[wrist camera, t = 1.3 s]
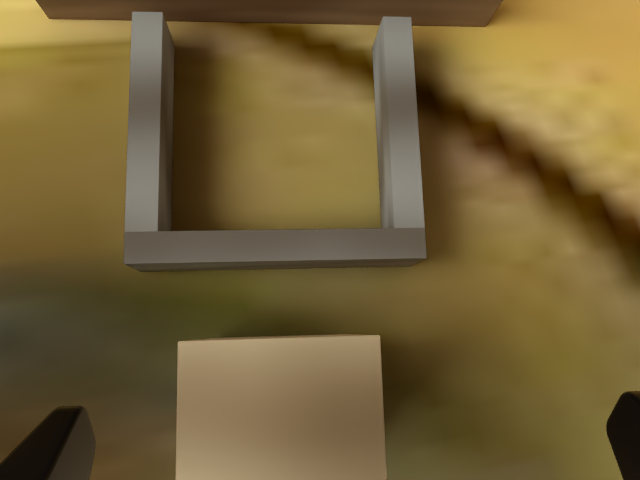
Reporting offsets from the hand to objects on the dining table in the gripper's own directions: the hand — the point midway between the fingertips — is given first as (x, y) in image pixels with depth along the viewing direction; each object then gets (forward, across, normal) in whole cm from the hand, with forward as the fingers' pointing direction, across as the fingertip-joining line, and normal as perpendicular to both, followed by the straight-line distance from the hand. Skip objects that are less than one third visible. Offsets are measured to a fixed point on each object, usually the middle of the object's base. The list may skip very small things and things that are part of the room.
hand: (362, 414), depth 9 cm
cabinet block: (+9, +1, +10) cm, 13 cm away
